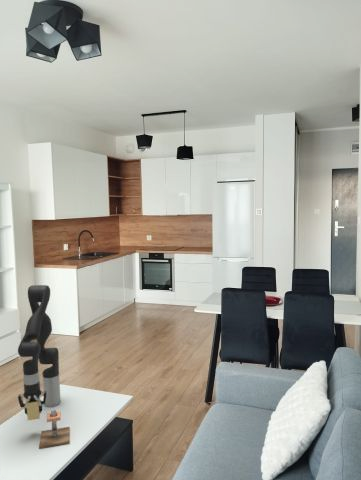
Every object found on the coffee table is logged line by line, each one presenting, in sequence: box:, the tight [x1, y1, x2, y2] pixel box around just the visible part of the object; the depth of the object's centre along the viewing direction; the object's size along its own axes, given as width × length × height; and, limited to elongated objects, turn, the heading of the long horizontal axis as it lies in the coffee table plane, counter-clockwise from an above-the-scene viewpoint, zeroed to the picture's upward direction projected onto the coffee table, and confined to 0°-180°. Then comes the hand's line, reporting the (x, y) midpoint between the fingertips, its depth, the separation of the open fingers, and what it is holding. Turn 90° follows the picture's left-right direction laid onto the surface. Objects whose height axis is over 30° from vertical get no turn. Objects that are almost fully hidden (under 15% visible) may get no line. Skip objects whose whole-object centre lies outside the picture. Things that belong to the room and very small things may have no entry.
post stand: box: [38, 410, 71, 450], centre depth 203 cm, size 14×14×14 cm
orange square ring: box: [46, 410, 62, 423], centre depth 203 cm, size 6×6×2 cm
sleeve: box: [25, 398, 41, 421], centre depth 207 cm, size 6×6×9 cm
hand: (33, 412), depth 207 cm, fingers closed on sleeve, 5 cm apart
